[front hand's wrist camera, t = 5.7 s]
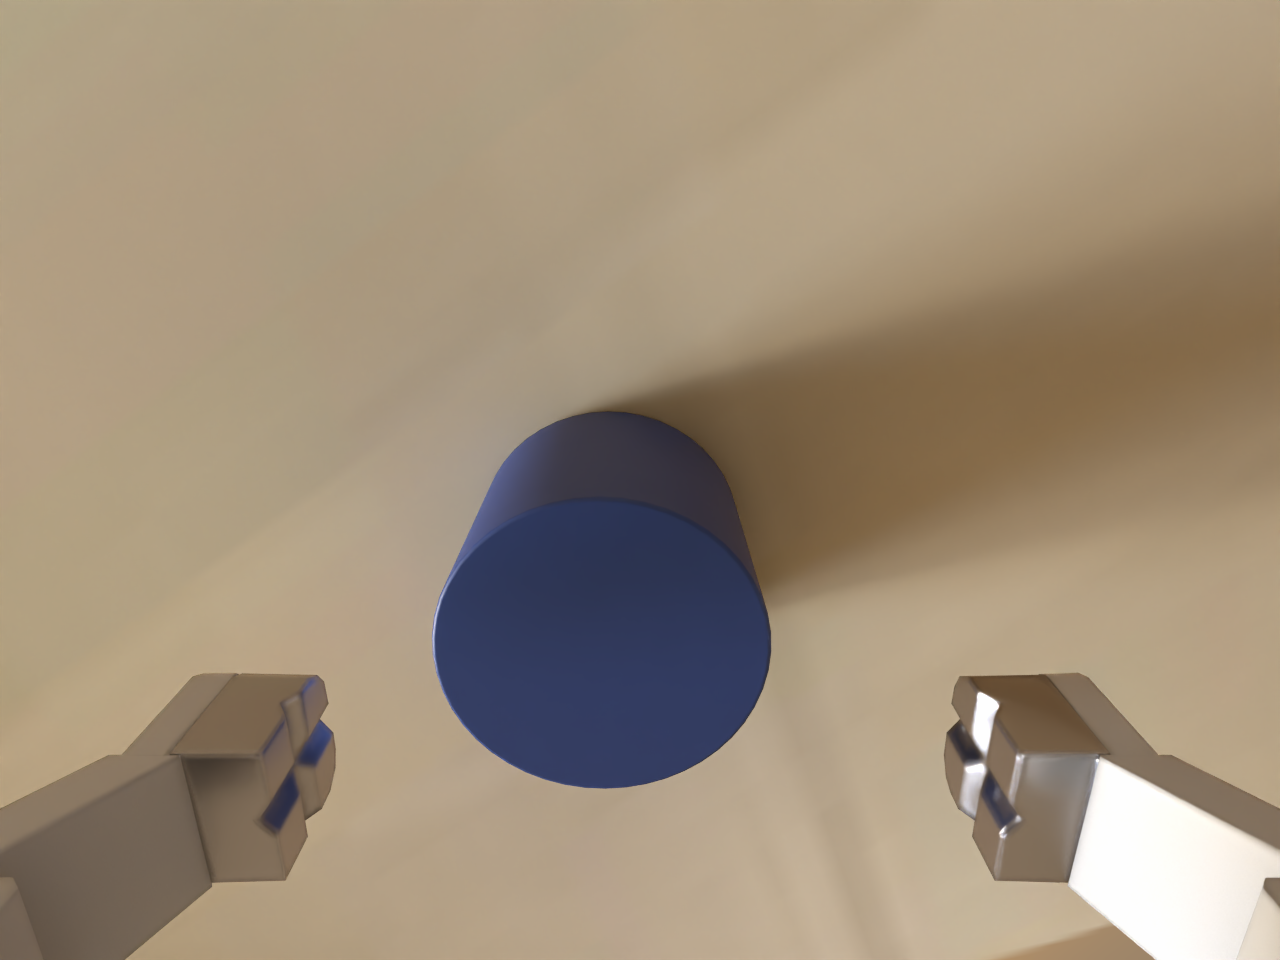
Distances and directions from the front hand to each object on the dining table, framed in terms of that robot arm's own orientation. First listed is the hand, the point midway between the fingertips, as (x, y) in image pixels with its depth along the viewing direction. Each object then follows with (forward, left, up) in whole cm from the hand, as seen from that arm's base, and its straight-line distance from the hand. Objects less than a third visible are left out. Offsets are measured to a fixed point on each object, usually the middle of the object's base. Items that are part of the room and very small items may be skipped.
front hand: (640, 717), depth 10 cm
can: (0, 0, -5) cm, 5 cm away
